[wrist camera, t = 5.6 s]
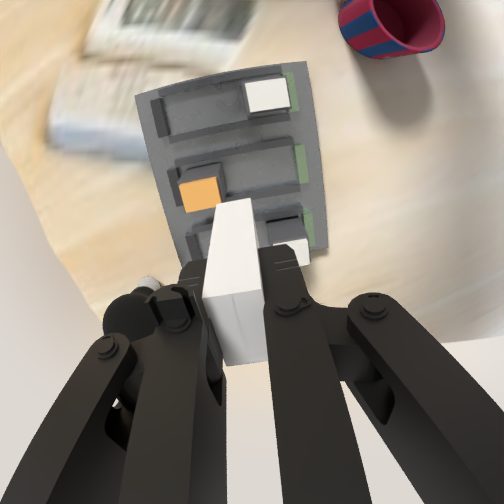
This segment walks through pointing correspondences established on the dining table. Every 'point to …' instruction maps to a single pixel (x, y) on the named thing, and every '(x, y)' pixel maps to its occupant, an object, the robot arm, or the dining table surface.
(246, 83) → the breaker
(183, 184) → the block
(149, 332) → the light bulb
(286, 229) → the breaker
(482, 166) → the dining table surface
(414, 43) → the mug
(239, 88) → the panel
